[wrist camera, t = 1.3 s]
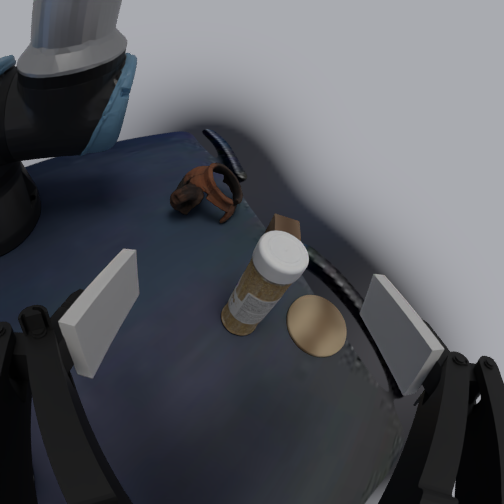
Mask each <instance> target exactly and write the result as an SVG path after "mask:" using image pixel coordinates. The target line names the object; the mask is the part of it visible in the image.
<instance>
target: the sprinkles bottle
mask: <svg viewBox="0 0 504 504" xmlns="http://www.w3.org/2000/svg"><path fill="white" fill-rule="evenodd" d="M308 262H309V256H308V252H307V250H306V248H305V246H304V245H303V244H302V242H301V241H300V240H298V239H297V238H296V237H294V236H293V235H291V234H289V233H287V232H283V231H269V232H267V233H265V234H264V235H263V236H262V237H261V238H260V240H259V241H258V243H257V245H256V247H255V249H254V251H253V256H252V259H251V261H250V263H249V265H248V266H247V268H246V270H245V272H244V273H243V275H242V276H241V278H240V280H239V282H238V283H237V285H236V287H235V289H234V291H233V293H232V294H231V296H230V298H229V301H228V303H227V304H226V305H225V307H224V308H223V310H222V313H221V319H222V322H223V325H224V326H225V327H226V329H227V330H228V331H230V332H231V333H233V334H236V335H241V336H243V335H248V334H250V333H251V332H253V331H254V330H255V328H256V326H257V324H258V323H259V322H260V321H262V320H263V318H264V317H265V316H266V315H267V314H268V313H269V311H270V310H271V309H272V308H273V307H274V306H275V304H276V303H277V302H278V301H279V300H280V298H281V297H282V296H283V294H284V292H285V291H286V290H287V289H288V287H289V286H290V285H291V284H292V283H293V282H295V281H296V280H297V279H298V278H299V277H300V276H301V275H302V273H303V272H304V270H305V269H306V268H307V266H308Z"/></svg>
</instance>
